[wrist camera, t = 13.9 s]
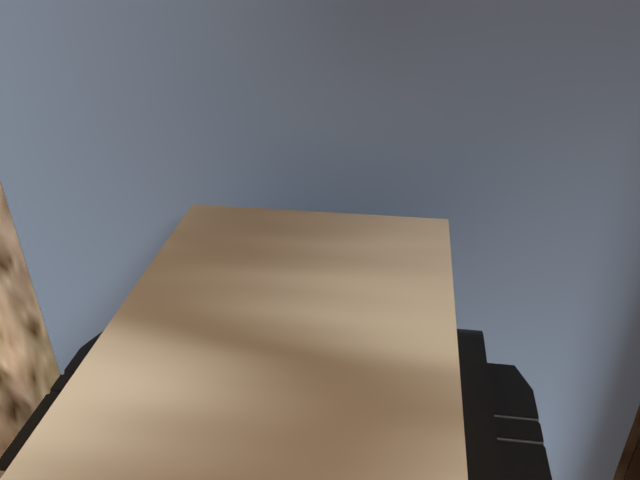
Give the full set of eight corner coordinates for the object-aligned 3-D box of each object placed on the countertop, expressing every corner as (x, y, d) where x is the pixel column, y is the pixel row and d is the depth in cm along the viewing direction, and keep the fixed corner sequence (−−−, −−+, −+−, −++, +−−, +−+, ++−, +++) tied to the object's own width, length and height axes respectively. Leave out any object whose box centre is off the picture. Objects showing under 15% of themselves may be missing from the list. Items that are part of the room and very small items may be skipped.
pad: (101, 431, 18) (86, 458, 17) (-48, -105, 11) (-88, -104, 10) (589, 485, 16) (598, 518, 16) (788, -114, 9) (824, -112, 8)
